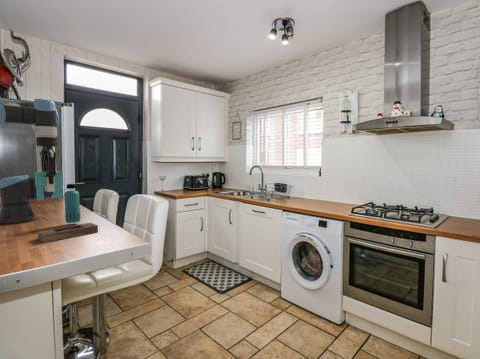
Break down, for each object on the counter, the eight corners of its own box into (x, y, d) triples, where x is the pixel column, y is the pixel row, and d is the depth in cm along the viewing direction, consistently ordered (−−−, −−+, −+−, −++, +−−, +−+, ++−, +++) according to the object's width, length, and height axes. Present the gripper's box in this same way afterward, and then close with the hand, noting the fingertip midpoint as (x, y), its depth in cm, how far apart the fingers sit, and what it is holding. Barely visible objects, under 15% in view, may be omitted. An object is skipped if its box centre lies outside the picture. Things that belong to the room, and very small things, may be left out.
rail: (37, 238, 109) (37, 231, 109) (90, 229, 124) (90, 222, 124) (43, 242, 104) (43, 235, 103) (98, 232, 119) (97, 225, 119)
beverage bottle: (68, 226, 128) (66, 184, 127) (63, 224, 132) (61, 184, 131) (83, 224, 134) (81, 183, 132) (77, 222, 138) (75, 183, 136)
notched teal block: (36, 200, 116) (34, 172, 115) (61, 197, 123) (60, 171, 122) (38, 200, 114) (36, 172, 113) (63, 198, 121) (62, 171, 120)
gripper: (31, 137, 119) (34, 190, 120) (41, 135, 108) (44, 193, 110) (51, 138, 124) (54, 189, 126) (63, 136, 114) (65, 192, 116)
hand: (49, 191), depth 118 cm, fingers closed on notched teal block, 3 cm apart
